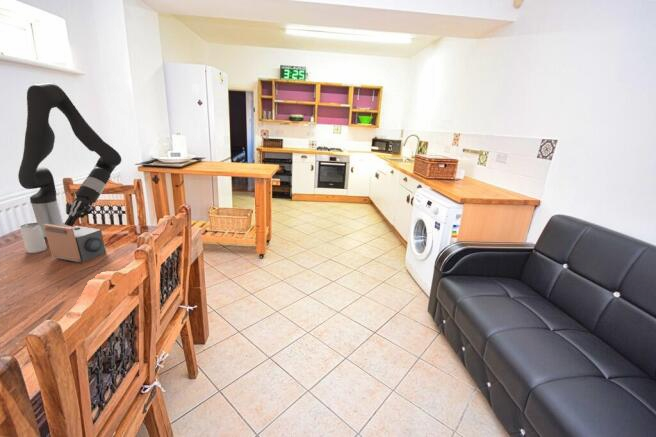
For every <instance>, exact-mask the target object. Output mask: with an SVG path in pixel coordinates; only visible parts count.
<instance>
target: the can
mask: <svg viewBox="0 0 656 437" xmlns="http://www.w3.org/2000/svg"><path fill="white" fill-rule="evenodd" d="M19 232H20V234H21V237H22V241H23V244H24V247H25V250H26V252H27V253H29V254H36V253H37V254H38V253H41V252H44V251H46V250H47V249H48V248H47V244H46V241H45V237H44V236H43V233H42V230H41V227H40V226H39V225H38V223H37V222H30V223H25V224H22V225H20V230H19Z"/></svg>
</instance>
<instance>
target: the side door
mask: <svg viewBox="0 0 656 437" xmlns="http://www.w3.org/2000/svg"><path fill="white" fill-rule="evenodd" d="M43 226H44V230H45V233H46V237H47V238H46V240H47V243H48V247H49V249H50V253H51V257H52V258H55V259H61V260H65V261H71V262H75V263H82V262H81V258H80V254H79V251H78V247H77V243H76V239H75V235H74V231H73V228H70V227H71V226H65V225H64V226H57V225H51V224H44V225H43Z"/></svg>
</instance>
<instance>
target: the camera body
mask: <svg viewBox="0 0 656 437" xmlns="http://www.w3.org/2000/svg"><path fill="white" fill-rule="evenodd" d="M69 227H70V228H73V231H74V235H75V239H76V243H77V247H78V251H79V254H80V258H81V262H80V263H85V262H87V261H88V262H89V261H91V260H92V259H94V258H97V257H99V256H102V255H104V254H106V253H107V251H106V247H105V242H104V238H103V233H102V229H99V228H93V227H87V226H86V227H85V226H81V225H80V226H79V225H73V226H69Z"/></svg>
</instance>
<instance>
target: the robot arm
mask: <svg viewBox="0 0 656 437" xmlns="http://www.w3.org/2000/svg"><path fill="white" fill-rule="evenodd" d="M26 106H27V112H26V113H27V118H26V127H25V134H24V145H23V146H24V147H23V152H22V160H21V163H20V165H19V170H18V174H17V176H18V178H17V179H18V183H19V185H20V186H21V187H22V188H23V189H26V190H36V189H39V190H38V191H37V192H36V193H34V194H33V195H31V196H30V197H29V200H30V203H31V207H32V211H33V214H34V218H35V220H36V223H38V225H39V226H40V227H41V230H42V233H43V236H44V239H45V238H46V239H47V237H46V233H45V230H44V226H43V225H44V224H51V225H57V226H64V227H65V226H66V227H74V224H75V223H76V222H77V219H80V218H81V219H83V218H84V217H86V216H87V215H89V214H90V213H91V212H93V211H94V210H95V208H94V207H92V205H93V204H95V203H96V202H97V201H98V199H99V198H100V195H102V193H103V191H104V189H105V187H106V186H107V184H108V182H109V180H110V179H111V174H112V173H113V171H114V170H115V168H116V167H117V166H119V165H121V163H122V157H121V155H120V154H119V152H118V151H117V150H116V149H114V148H113V147H112V146H111V145H110V144H108V143H107V142H105V141H104V140H103V139H102V138H101V136H100V135H98V133H97V132H96V131H95V130H94V129H93V128H92V127H91V126H90V124H88V122H87V121H86V120H85V118H84V117H83V115H81V113H80V112H79V110H78V109H77V107H76V106H75V105H74V103H73V102H72V100H71V99H70V98H69V96H68V95H67V93H66V92H65V91H64V90H63V89H62V88H61V86H59V85H57V84H55V83H52V82H46V83H38V84H31V85H30V86H29V87H28V89H27V92H26ZM54 108H56V109H57V110H58V111H60V112H61V113H62V114H63V115H64V116H65V118H67V121H68V122H69V125H70V127H71V129H72V131H73V134H74V135H75V137H76V138H77V139H78V140H79V141H80V142H81V144H83V145H84V147H85V148H87V150H89V151H90V152H95V153H96V154H97V155H98V156H99V158H98V159H97V161H96V163H95V165H94V168H93V169H92V170H91V171H90V172H89V174H88V176H87V177H86V178H85V179H84V180H83V182H82V183H81V185H80V186H79V188H78V189H77V191H76V192H75V195H74V196H75V197H76V198H74V199H73V201H72V202H71V203H69V202H67V203H66V204H65V213H66V215H68V217H67V219H66V220H65V222H63V218H62V213H61V210H60V208H59V207H60V206H59V202H58V200H57V190H56V183H55V179H54V176H53V174H52V172H51V170H50V169H48V167H45V166H44V167H43V166H41V167H40V166H39V165H40V164H41V163H42V162H43V161H44V160H46V158H47V157H48V156H49V155H50V154H51V153H52V151H53V150H54V146H55V142H56V141H55V139H56V136H55V131H54V130H53V128H52V127H51V125H50V123H49V122H50V120H49V119H50V113H51V110H52V109H54Z"/></svg>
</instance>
